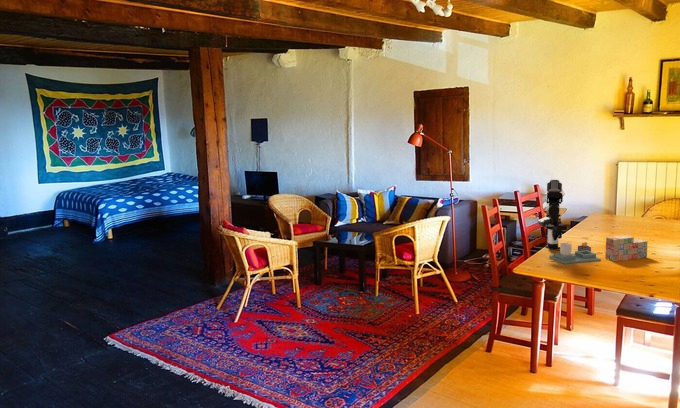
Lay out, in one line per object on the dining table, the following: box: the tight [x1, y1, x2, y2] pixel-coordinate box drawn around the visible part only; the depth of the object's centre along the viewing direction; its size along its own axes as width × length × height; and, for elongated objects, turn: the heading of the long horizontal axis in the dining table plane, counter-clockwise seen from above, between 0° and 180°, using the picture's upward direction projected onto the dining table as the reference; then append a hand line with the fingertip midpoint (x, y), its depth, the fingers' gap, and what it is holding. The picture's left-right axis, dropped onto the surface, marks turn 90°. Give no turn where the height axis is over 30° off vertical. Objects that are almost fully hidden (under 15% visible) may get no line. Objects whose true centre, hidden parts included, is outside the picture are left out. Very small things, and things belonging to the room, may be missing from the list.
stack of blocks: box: [604, 234, 648, 262], centre depth 293 cm, size 21×6×12 cm, turn 103°
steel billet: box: [548, 228, 559, 245], centre depth 304 cm, size 4×4×8 cm
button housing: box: [577, 244, 592, 252], centre depth 309 cm, size 5×5×3 cm
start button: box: [581, 241, 588, 248], centre depth 309 cm, size 3×3×3 cm
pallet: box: [548, 242, 602, 265], centre depth 295 cm, size 14×22×9 cm, turn 100°
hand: (552, 239), depth 305 cm, fingers closed on steel billet, 4 cm apart
